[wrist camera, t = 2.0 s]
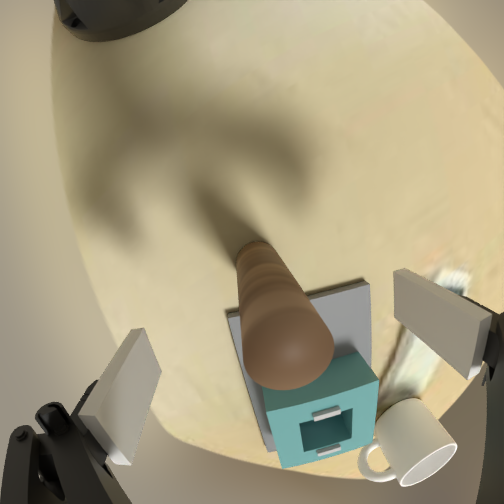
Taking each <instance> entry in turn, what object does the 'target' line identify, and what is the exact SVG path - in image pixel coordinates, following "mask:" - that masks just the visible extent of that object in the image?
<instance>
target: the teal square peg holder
mask: <svg viewBox="0 0 504 504" xmlns="http://www.w3.org/2000/svg"><path fill="white" fill-rule="evenodd" d="M378 387H379V379H378V378H377V376H376V375H375V374H374V372H373V371H372V369H371V368H370V367H369V365H368V364H367V363H366V361H365V360H364V358H363V357H362V356H361V354H360V353H359V352H355V353H351V354H348V355H345V356H342V357H338V358H335V359H332V360H331V362H330V364H329V366H328V367H327V369H326V370H325V371H324V372H323V373H322V374H321V375H320V376H319V377H318V378H317V379H316V380H314V381H312V382H311V383H309V384H307V385H305V386H302V387H300V388H296V389H291V390H273V389H269V388H266V387H263V386H262V390H263V396H264V402H265V408H266V413H267V417H268V421H269V424H270V428H271V431H272V435H273V438H274V442H275V445H276V449H277V452H278V456H279V459H280V463H281V466H282V469H284V468H289V467H293V466H298V465H302V464H306V463H310V462H314V461H318V460H322V459H325V458H329V457H332V456H335V455H339V454H342V453H345V452H348V451H351V450H354V449H357V448H360V447H362V446H365V445H368V444H370V443H372V442H373V435H374V427H375V419H376V410H377V400H378Z"/></svg>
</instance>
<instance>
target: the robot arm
mask: <svg viewBox="0 0 504 504" xmlns="http://www.w3.org/2000/svg"><path fill="white" fill-rule="evenodd" d="M186 1H187V0H54V3H55V6H56V9H57V13H58V16H59V19H60V21H61V23H62V24H63V26H64V27H65V28H66V29H68V30H69V31H70V32H71V33H72V34H73V35H74V36H76V37H77V38H79V39H82V40H86V41H93V42H101V41H110V40H115V39H119V38H123V37H126V36H129V35H132V34H135V33H137V32H140V31H142V30H144V29H146V28H149V27H151V26H153V25H154V24H156V23H158V22H160V21H161V20H163V19H165V18H166V17H168V16H169V15H171V14H172V13H174V12H175V11H176V10H177V9H179V8H180V7H181V6H182V5H183V4H184V3H185V2H186ZM393 277H394V318H396V319H397V320H398V321H399V322H401V323H402V324H403V325H404V326H405V327H406V328H408V329H409V330H410V331H411V332H412V333H414V334H415V335H416V336H417V337H418V338H420V339H421V340H422V341H423V342H424V343H425V344H427V345H428V346H429V347H430V348H431V349H432V350H434V351H435V352H436V353H437V354H438V355H439V356H440V357H442V358H443V359H444V360H445V361H446V362H447V363H448V364H450V365H451V366H452V367H453V368H454V369H455V370H456V371H457V372H459V373H460V374H461V375H462V376H463V377H464V378H465V379H466V380H469V379H470V378H472V377H473V376H475V375H476V374H478V373H479V372H480V369H481V365H482V361H484V362H486V363H487V364H488V365H487V368H486V372H485V375H484V378H483V382H482V386H484V383H485V381H486V384H487V425H486V441H485V452H484V460H483V468H482V475H481V481H480V486H479V492H478V496H477V500H476V504H504V312H503V313H501V314H500V315H499V314H497V313H495V312H494V311H492V310H490V309H488V308H486V307H485V306H483V305H480V304H479V303H477V302H474V301H473V300H472V299H470V298H468V297H465V296H460V295H457V294H455V293H453V292H451V291H449V290H447V289H445V288H443V287H441V286H439V285H437V284H436V283H434V282H432V281H430V280H428V279H426V278H424V277H422V276H420V275H418V274H416V273H414V272H412V271H410V270H408V269H406V268H403V269H400V270H396V271H393ZM161 372H162V371H161V368H160V366H159V364H158V361H157V359H156V356H155V354H154V352H153V349H152V347H151V344H150V342H149V339H148V336H147V334H146V331H145V329H144V328H139V329H132V330H131V331H130V332H129V334H128V335H127V337H126V338H125V340H124V341H123V343H122V344H121V346H120V347H119V349H118V350H117V352H116V353H115V355H114V357H113V358H112V360H111V361H110V363H109V364H108V366H107V368H106V369H105V371H104V372H103V374H102V375H101V377H100V379H99V380H96V381H94V382H93V383H92V384H91V385H90V386H89V387H88V388H87V390H86V391H85V393H84V395H83V396H82V398H81V399H80V401H79V402H78V404H77V406H76V408H75V409H74V411H73V412H72V414H71V416H69V414H68V413H67V411H66V410H65V408H64V407H63V405H62V404H61V403H59V402H51V403H48V404H46V405H44V406H42V407H41V408H40V409H39V410H38V411H37V413H36V415H35V419H36V421H37V422H38V424H39V425H40V426H41V428H42V429H43V430H44V432H45V433H44V434H36V433H35V431H34V430H33V429H32V427H31V426H28V425H23V426H20V427H18V428H16V429H15V430H14V431H13V433H12V434H11V436H10V440H9V444H8V449H7V454H6V460H5V466H4V472H3V479H2V487H1V498H0V504H132V503H131V501H130V500H129V498H128V497H127V495H126V494H125V492H124V491H123V489H122V488H121V486H120V485H119V483H118V481H117V480H116V478H115V476H114V474H113V473H112V471H111V469H110V468H109V466H108V465H107V464H106V463H105V460H106V457H107V455H108V456H109V457H110V459H111V460H112V461H113V462H114V463H115V464H121V465H132V462H133V459H134V456H135V452H136V449H137V445H138V442H139V439H140V436H141V433H142V430H143V426H144V423H145V420H146V417H147V414H148V411H149V408H150V405H151V402H152V399H153V396H154V393H155V390H156V387H157V384H158V381H159V378H160V375H161ZM38 474H39V475H40V478H39V475H38Z"/></svg>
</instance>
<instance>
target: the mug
mask: <svg viewBox="0 0 504 504" xmlns="http://www.w3.org/2000/svg"><path fill="white" fill-rule="evenodd" d="M374 436H375V439H373V442H372V443H370V444H368V445H365V446H364V447H363V448H362V449H361V451H360V453H359V456H358V468H359V470H360V472H361V474H362V475H363V476H364V477H365V478H367V479H369V480H371V481H375V482H384V481H388V480H392V479H394V478H397V480H398V482H399V483H400V485H401V486H410V485H413V484H416V483H418V482H420V481H422V480H424V479H426V478H427V477H429V476H431V475H432V474H434V473H435V472H436V471H438V470H439V469H440V468H441V467H443V466H444V465H445V464H446V463H447V462H448V461H449V459H450V458H451V457H452V456H453V455H454V453H455V451H456V449H457V444H456V443H455V441H454V440H453V439H452V437H451V436H450V435H449V434H448V433H447V431H446V430H445V429H444V427H443V426H442V425H441V424H440V422H439V421H438V420H437V419H436V417H435V416H434V415H433V414H432V412H431V411H430V410H429V409H428V407H427V406H426V405H425V404H424V403H423V402H422V401H421V400H419V399H416V398H410V399H405V400H402V401H400V402H398V403H396V404H394V405H393V406H391V407H390V408H389V409H387V410H386V411H385V412H384V413H383V414H382V415H381V416H380V418H379V419H378V420H377V422H376V424H375V427H374ZM379 446H380V448H381V450H382V452H383V454H384V455H385V457H386V459H387V461H388V463H389V465H390V467H391V469H389V470H387V471H384V472H376V471H374V470H372V469H371V468H370V467H369V465H368V462H367V457H368V455H369V453H370V452H371V451H372V450H373V449H375V448H377V447H379Z"/></svg>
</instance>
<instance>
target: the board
mask: <svg viewBox="0 0 504 504" xmlns="http://www.w3.org/2000/svg"><path fill="white" fill-rule="evenodd" d="M307 297H308V299H309V300H310V302H311V303H312V305H313V306H314V308H315V309H316V311H317V312H318V314H319V315H320V317H321V318H322V320H323V321H324V323H325V324H326V326H327V327H328V329H329V330H330V332H331V334H332V336H333V339H334V354H333V357H332V359H335V358H338V357H342V356H345V355H348V354H351V353H355V352H359V353H360V354H361V356H362V357H363V358H364V360H365V361H366V363H367V364H368V365H369V367H370V368H371V300H370V284H369V283H367V282H366V281H362V282H359V283H355V284H351V285H348V286H344V287H340V288H336V289H332V290H328V291H325V292H321V293H317V294H313V295H309V296H307ZM228 321H229V325H230V329H231V332H232V336H233V340H234V343H235V347H236V350H237V354H238V357H239V361H240V364H241V368H242V371H243V375H244V378H245V381H246V385H247V388H248V391H249V395H250V398H251V401H252V404H253V408H254V411H255V414H256V417H257V420H258V424H259V427H260V430H261V433H262V436H263V439H264V442H265V445H266V448H267V451H268V452H273V451H277V449H276V445H275V442H274V438H273V435H272V431H271V428H270V424H269V421H268V417H267V413H266V408H265V402H264V396H263V390H262V386H261V385H259V384H258V383H256V382H255V381H254V380H253V379H252V378H251V377H250V376H249V375H248V373H247V371H246V369H245V367H244V363H243V353H242V339H241V326H240V312H239V311H238V312H233V313H228Z"/></svg>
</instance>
